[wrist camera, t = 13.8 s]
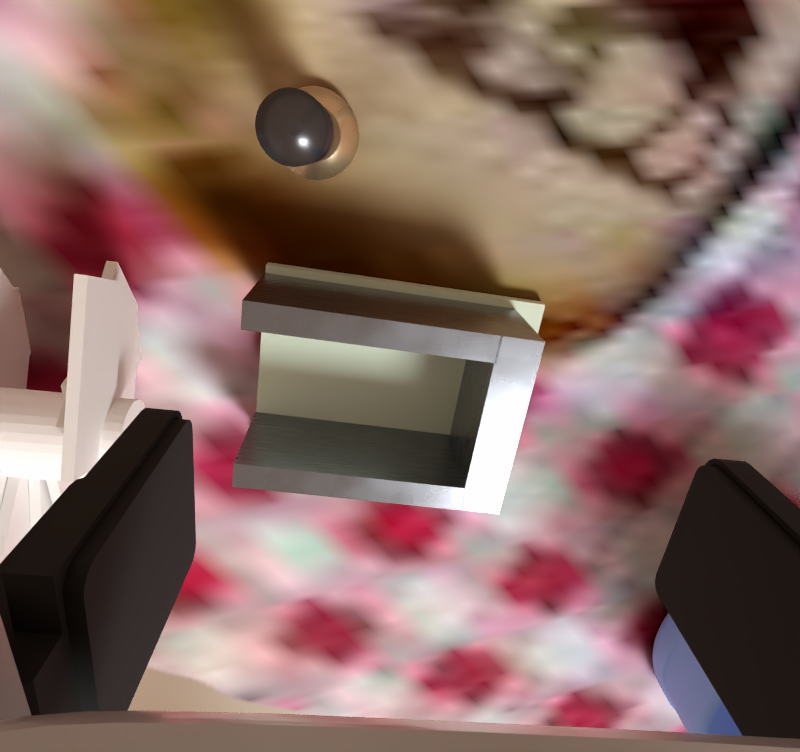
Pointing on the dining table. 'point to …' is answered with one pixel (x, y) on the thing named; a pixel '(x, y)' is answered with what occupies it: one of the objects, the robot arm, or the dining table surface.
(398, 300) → the c link
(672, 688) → the water jug
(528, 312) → the board
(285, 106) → the stand
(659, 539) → the dining table surface
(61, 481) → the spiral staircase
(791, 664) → the robot arm
